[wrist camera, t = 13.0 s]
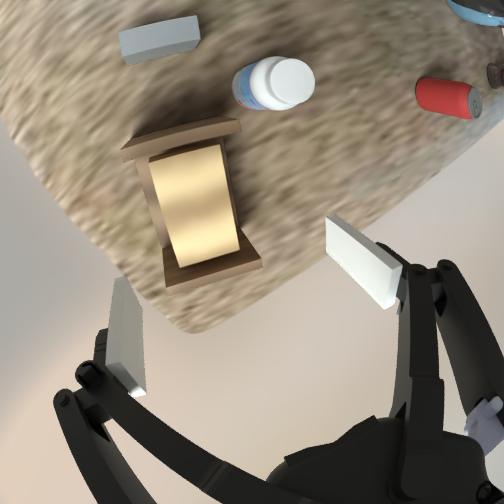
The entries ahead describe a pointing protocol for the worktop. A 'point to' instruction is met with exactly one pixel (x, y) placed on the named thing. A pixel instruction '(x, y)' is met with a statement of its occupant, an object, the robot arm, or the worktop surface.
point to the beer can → (449, 98)
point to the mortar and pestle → (495, 76)
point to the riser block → (159, 39)
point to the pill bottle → (273, 84)
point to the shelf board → (195, 202)
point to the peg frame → (141, 152)
